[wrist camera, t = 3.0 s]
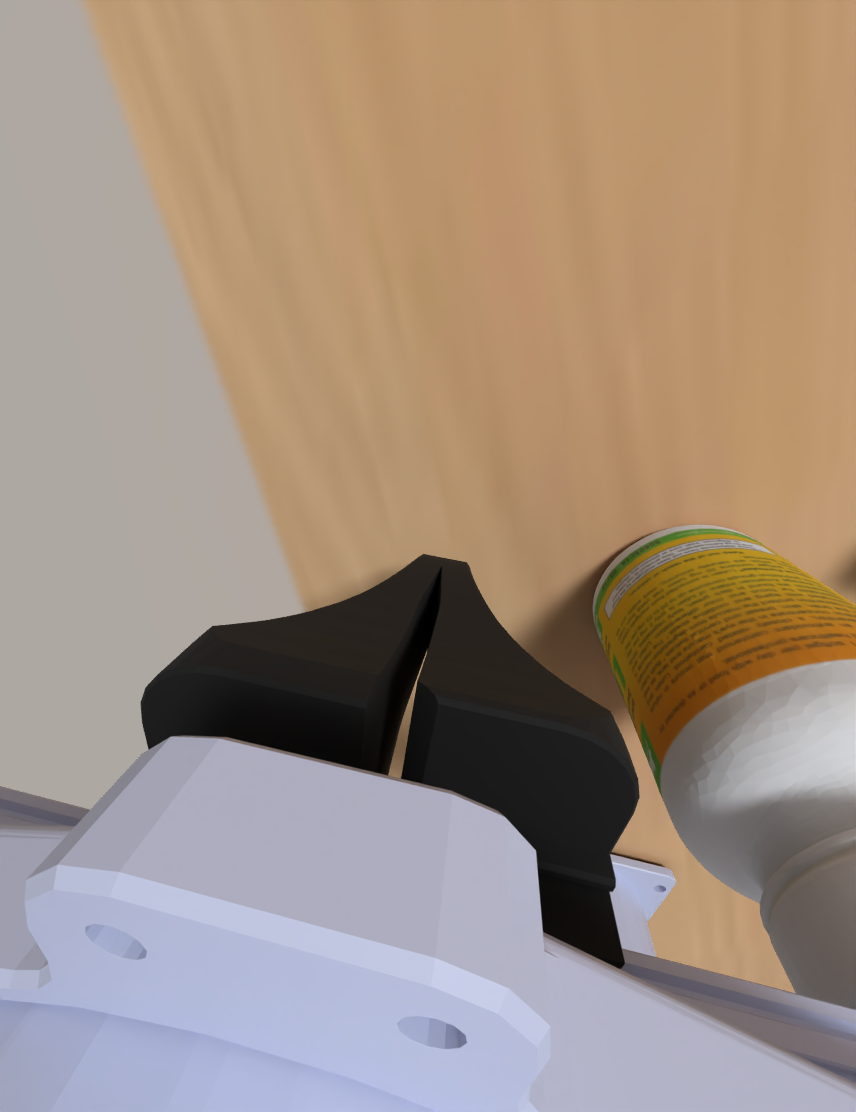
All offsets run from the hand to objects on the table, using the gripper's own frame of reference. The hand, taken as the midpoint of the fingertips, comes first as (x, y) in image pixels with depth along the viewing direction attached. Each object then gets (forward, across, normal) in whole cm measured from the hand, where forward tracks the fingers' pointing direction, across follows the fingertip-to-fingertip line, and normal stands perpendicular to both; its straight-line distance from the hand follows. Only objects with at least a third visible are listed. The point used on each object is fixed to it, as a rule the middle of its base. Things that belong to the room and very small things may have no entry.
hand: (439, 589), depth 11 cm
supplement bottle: (+3, -8, 0) cm, 8 cm away
